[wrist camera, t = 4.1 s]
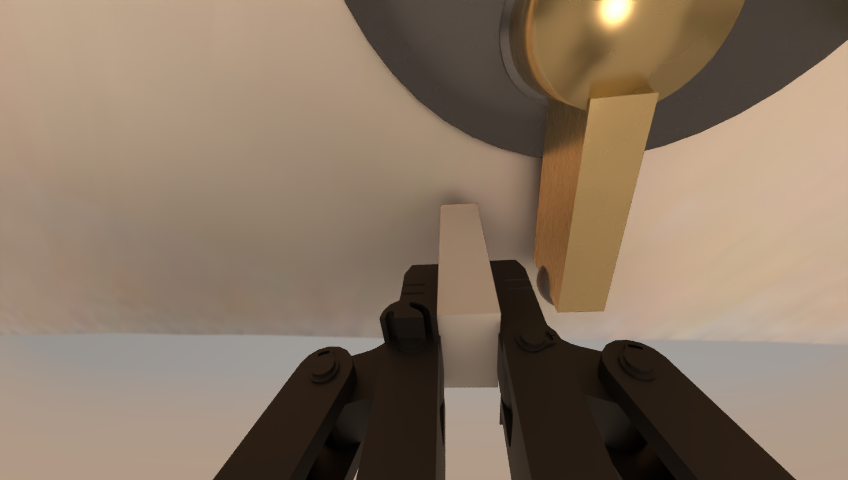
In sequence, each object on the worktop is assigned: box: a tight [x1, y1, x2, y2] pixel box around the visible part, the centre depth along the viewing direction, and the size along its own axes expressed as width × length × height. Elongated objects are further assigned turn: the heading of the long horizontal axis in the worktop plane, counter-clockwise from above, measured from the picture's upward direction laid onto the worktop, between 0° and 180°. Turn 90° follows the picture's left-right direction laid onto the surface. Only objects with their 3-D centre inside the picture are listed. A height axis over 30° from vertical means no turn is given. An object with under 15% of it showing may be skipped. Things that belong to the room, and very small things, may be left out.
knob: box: [509, 0, 745, 312], centre depth 12 cm, size 14×5×4 cm, turn 5°
